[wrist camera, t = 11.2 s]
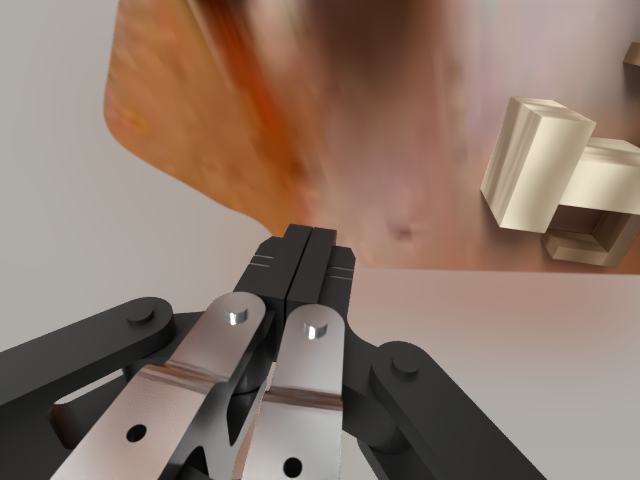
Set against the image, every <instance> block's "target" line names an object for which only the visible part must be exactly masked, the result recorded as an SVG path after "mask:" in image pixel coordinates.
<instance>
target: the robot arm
mask: <svg viewBox="0 0 640 480" xmlns="http://www.w3.org/2000/svg"><path fill="white" fill-rule="evenodd" d="M336 236H337V230H331V229H324V228H318V227H314V228H313V227H310V226H303V225H296V224H290V225H289V227H288V229H287V231H286V233H285V235H284V237H283V238H280V237H273V236H272V237H270V238H269V239H267V240H266V241H264V242H263V243H261V244H260V246H259V248H258V249H257V251H256V253H255V256H253V258H252V260H251V261H250V264H249V265H248V266H247V268H246V270H245V272H244V273H243V275H242V277H241V278H240V280H239V282H238V283H237V285H236V287H235V289H234V291H233V292H232V293H228V294H225V295H222V296H220V297H218V298H217V299H216V300H214V301H213V302H212V303H211V304H210V306H209V307H208V308H207V310H206V311H202V312H194V313H193V312H192V313H179V314H173V310H172V307H171V305H170V304H169V303H168V302H167V301H166V300H164V299H161V298H157V297H143V298H138V299H135V300H131V301H129V302H126V303H124V304H121V305H119V306H116V307H114V308H111V309H109V310H107V311H104V312H101V313H99V314H96V315H94V316H91V317H88V318H86V319H84V320H81V321H78V322H76V323H73V324H71V325H68V326H66V327H63V328H61V329H58V330H56V331H53V332H51V333H48V334H46V335H43V336H41V337H38V338H36V339H33V340H31V341H28V342H25V343H23V344H20V345H18V346H16V347H13V348H11V349H8V350H5V351H3V352H0V480H231V478H232V473H233V467H234V463H235V459H236V456H237V453H238V451H239V448H240V446H241V444H242V441H243V439H244V437H245V434H246V432H247V430H248V428H249V425H250V423H251V421H252V418H253V416H254V414H255V411H256V409H257V407H258V405H259V402H260V400H261V398H262V395H263V393H264V391H265V388H266V385H267V376H268V373H269V370H270V367H271V365H272V362H276V366H275V370H274V374H273V379H272V382H271V386H270V389H269V391H265V393H264V396H263V399H262V402H261V405H260V409H259V413H258V417H257V421H256V425H255V429H254V433H253V436H252V440H251V444H250V448H249V452H248V456H247V460H246V464H245V468H244V471H243V475H242V479H239V480H340V460H341V459H340V458H341V438H342V437H341V436H342V430H344V431H346V432H347V433H349V434H351V435H352V436H354V437H356V438H357V442H358V445H359V447H360V449H361V451H362V453H363V455H364V456H365V458H366V460H367V461H368V463H369V465H370V466H371V468H372V469H373V471H374V473H375V475H376V476H377V478H378V480H547V479H546V478H545V477H544V476H543V475H542V474H541V473H540V472H539V471H538V470H537V469H536V467H535V466H534V465H533V464H532V463H531V462H530V461H529V460H528V459H527V458H526V457H525V456H524V455H523V454H522V453H521V452H520V451H519V450H518V448H517V447H516V446H515V445H514V444H513V443H512V442H511V441H510V440H509V439H508V438H507V437H506V436H505V435H504V434H503V433H502V432H501V430H499V428H498V427H497V426H496V425H495V424H494V423H493V422H492V421H491V420H490V419H489V418H488V417H487V416H486V415H485V414H484V413H483V412H482V410H481V409H480V408H479V407H478V406H477V405H476V404H475V403H474V402H473V401H472V400H471V399H470V398H469V397H468V396H467V395H466V394H465V393H464V392H463V390H461V388H460V387H459V386H458V385H457V384H456V383H455V382H454V381H453V380H452V379H451V378H450V377H449V376H448V375H447V374H446V373H445V372H444V370H443V369H442V368H441V367H440V366H439V365H438V364H437V363H436V362H435V361H434V360H433V359H432V358H431V357H430V356H429V355H428V354H427V353H426V352H425V351H424V350H422V349H421V348H419V347H417V346H415V345H413V344H411V343H407V342H402V341H392V342H387V343H384V344H383V345H381V346H379V347H376V346H374V345H372V344H370V343H368V342H365V341H364V340H362V339H361V338H359V337H358V336H357V335H356V334H355V333H354V332H353V331H352V330H351V328H350V327H349V324H348V322H347V313H348V307H349V299H350V293H351V286H352V279H353V272H354V266H355V259H356V258H355V256H354V254H353V252H352V250H351V248H347V247H341V246H335V245H336ZM119 369H122V372H123V375H122V376H120V377H118V378H116V379H114V380H112V381H110V382H108V383H106V384H104V385H102V386H100V387H98V388H96V389H94V390H92V391H90V392H88V393H86V394H84V395H82V396H80V397H78V398H76V399H74V400H72V401H70V402H68V403H64V404H54V403H55V402H56V401H57V400H59V399H61V398H62V397H64V396H66V395H68V394H70V393H72V392H74V391H76V390H78V389H80V388H82V387H84V386H86V385H88V384H90V383H93V382H95V381H96V380H98V379H101V378H103V377H105V376H107V375H109V374H111V373H112V372H115V371H117V370H119Z"/></svg>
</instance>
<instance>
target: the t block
mask: <svg viewBox="0 0 640 480" xmlns="http://www.w3.org/2000/svg"><path fill="white" fill-rule="evenodd" d="M595 125H596V123H595V122H594V121H592V120H590V119H588V118H586V117H584V116H582V115H580V114H578V113H576V112H574V111H572V110H570V109H568V108H566V107H565V106H563V105H561V104H559V103H557V102H555V101H552V100H542V99H532V98H522V97H512V96H511V97H510V100H509V103H508V106H507V109H506V112H505V115H504V118H503V121H502V125H501V128H500V131H499V134H498V137H497V140H496V143H495V146H494V149H493V152H492V155H491V158H490V161H489V164H488V167H487V170H486V173H485V176H484V179H483V182H482V185H481V188H480V189H481V191H482V193H483V195H484V197H485V199H486V201H487V203H488V205H489V207H490V209H491V211H492V213H493V215H494V217H495V219H496V221H497V223H498V225H499V226H500V227H503V228H510V229H517V230H524V231H532V232H539V233H545V232H546V230H547V228H548V226H549V223H550V221H551V219H552V217H553V215H554V213H555V211H556V208H557V206H558V204H561V205H569V206H577V207H584V208H592V209H600V210H608V211H616V212H623V213H631V214H639V215H640V148H638V147H636V146H635V145H633V144H631V143H629V142H627V141H625V140H617V139H608V138H599V137H590V136H591V134H592V132H593V130H594V128H595Z"/></svg>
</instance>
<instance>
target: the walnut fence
mask: <svg viewBox="0 0 640 480" xmlns="http://www.w3.org/2000/svg"><path fill="white" fill-rule="evenodd" d="M623 63H628V64H634V65H639V66H640V43H632V44H631V46H630V48H629V50H628V52H627V54H626V56H625V59H624V61H623ZM639 148H640V146H639ZM639 232H640V215H639V214H631V213H623V212H616V211H608V210H604V212H603V213H602V215H601V217H600V219H599V221H598V222H597V224H596V226H595V228H594V230H593V232H592V233H591V234H584V233H576V232H569V231H561V230H554V229H547V230H546V232H545V233H543V235H542V237H541V239H540V240H541V242H542V243H543V245H544V246H545V248H546V249H547V251H548V252H549V254H550V255H551V257H552V258H553V259H559V260H566V261H573V262H580V263H587V264H594V265H601V266H608V267H615V268H617V267H618V265H619V263H620V262H621V260H622V259H623V257H624V256H625V254H626V252H627V251H628V249H629V248H630V246H631V244H632V243H633V241H634V240H635V238H636V236H637V235H638V233H639Z"/></svg>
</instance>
